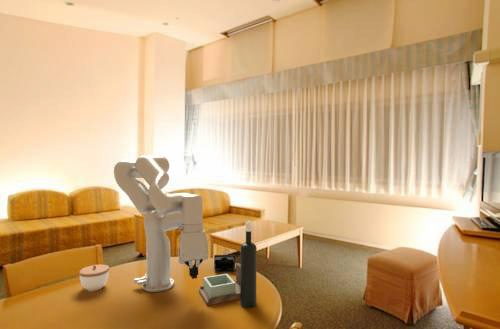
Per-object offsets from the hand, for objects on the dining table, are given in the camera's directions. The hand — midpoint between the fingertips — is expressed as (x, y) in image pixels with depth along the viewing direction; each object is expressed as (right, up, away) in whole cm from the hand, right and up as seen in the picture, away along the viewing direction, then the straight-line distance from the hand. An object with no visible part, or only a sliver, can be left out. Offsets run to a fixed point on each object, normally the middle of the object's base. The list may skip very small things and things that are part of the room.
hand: (193, 277), depth 108 cm
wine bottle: (+20, -9, -2) cm, 22 cm away
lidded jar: (-42, -9, +11) cm, 45 cm away
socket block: (+9, -7, +5) cm, 13 cm away
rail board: (+11, -9, +6) cm, 15 cm away
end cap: (+9, -9, +31) cm, 33 cm away
